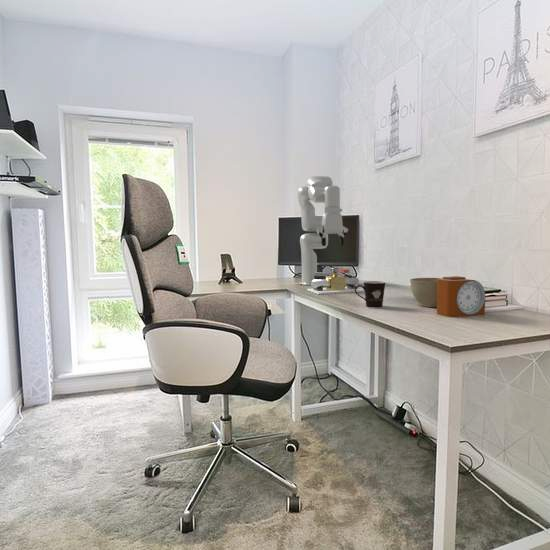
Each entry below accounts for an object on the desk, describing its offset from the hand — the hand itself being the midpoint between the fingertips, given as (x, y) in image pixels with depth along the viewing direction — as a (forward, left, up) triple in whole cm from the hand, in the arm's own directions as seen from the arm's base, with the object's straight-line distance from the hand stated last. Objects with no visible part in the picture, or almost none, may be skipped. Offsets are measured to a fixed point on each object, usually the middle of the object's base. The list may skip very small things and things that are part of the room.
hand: (332, 245), depth 191 cm
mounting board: (-9, +6, -25) cm, 27 cm away
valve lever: (-4, +6, -14) cm, 16 cm away
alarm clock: (+64, +20, -25) cm, 72 cm away
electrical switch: (-24, +5, -25) cm, 35 cm away
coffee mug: (+38, -1, -25) cm, 46 cm away
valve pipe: (-10, +6, -25) cm, 27 cm away
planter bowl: (+46, +22, -25) cm, 57 cm away
